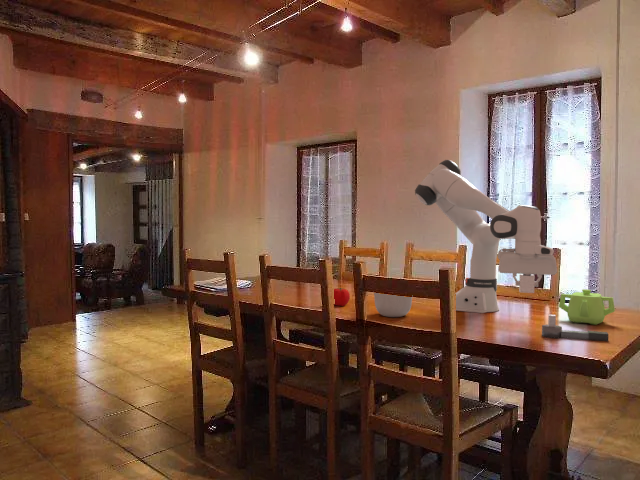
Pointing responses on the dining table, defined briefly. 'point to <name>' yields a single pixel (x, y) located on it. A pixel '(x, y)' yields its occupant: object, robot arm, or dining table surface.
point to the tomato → (341, 296)
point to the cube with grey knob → (526, 283)
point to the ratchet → (570, 332)
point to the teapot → (586, 307)
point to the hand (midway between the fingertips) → (526, 286)
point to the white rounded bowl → (392, 305)
